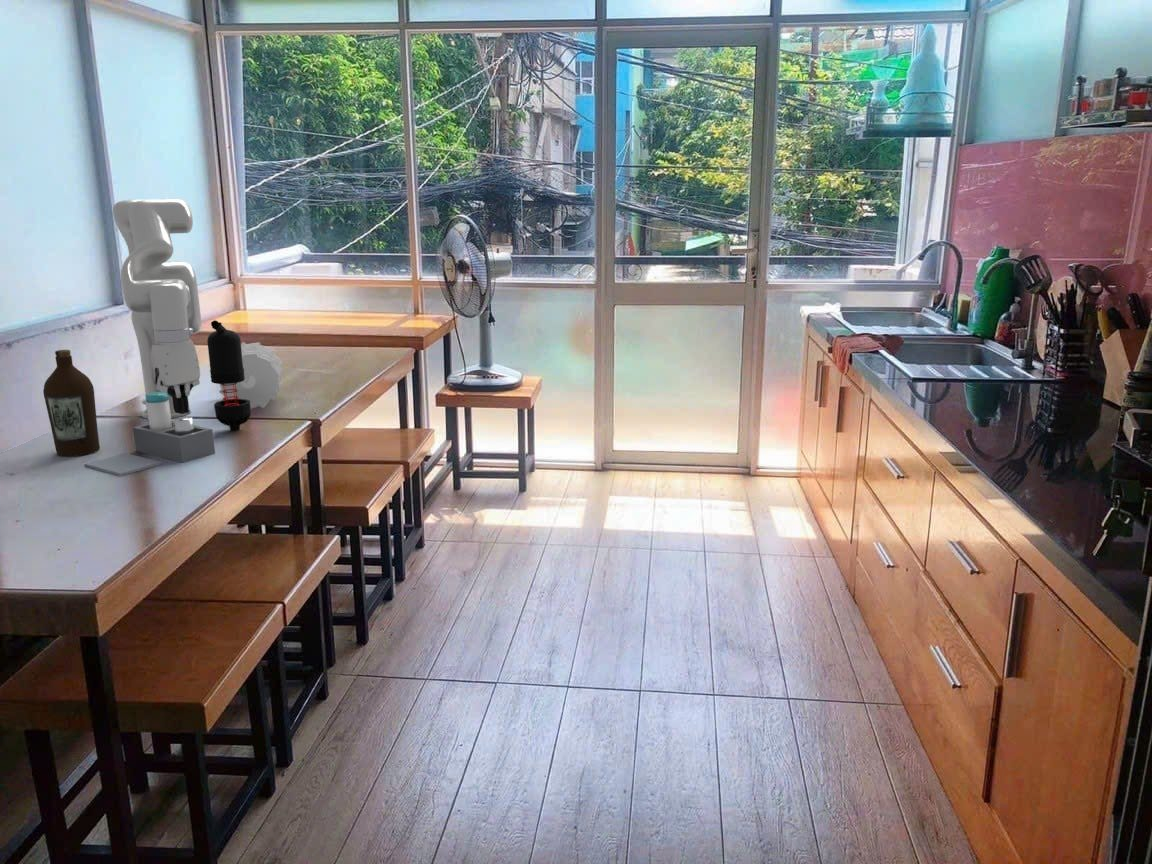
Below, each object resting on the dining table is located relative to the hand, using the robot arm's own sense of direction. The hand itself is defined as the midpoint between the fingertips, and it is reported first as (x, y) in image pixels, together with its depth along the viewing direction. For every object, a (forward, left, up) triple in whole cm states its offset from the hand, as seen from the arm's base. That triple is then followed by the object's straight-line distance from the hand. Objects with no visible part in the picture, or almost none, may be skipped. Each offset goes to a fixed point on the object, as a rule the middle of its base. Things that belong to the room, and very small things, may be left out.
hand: (181, 412), depth 214 cm
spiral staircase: (-30, +44, -11) cm, 54 cm away
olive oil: (-26, -12, -11) cm, 30 cm away
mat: (-6, -13, -11) cm, 18 cm away
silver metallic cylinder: (0, 0, -7) cm, 7 cm away
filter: (-10, +22, -11) cm, 26 cm away
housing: (-5, 0, -11) cm, 12 cm away
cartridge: (-9, 0, -11) cm, 14 cm away
